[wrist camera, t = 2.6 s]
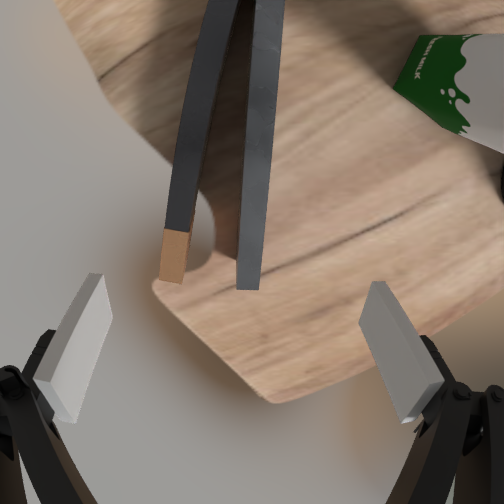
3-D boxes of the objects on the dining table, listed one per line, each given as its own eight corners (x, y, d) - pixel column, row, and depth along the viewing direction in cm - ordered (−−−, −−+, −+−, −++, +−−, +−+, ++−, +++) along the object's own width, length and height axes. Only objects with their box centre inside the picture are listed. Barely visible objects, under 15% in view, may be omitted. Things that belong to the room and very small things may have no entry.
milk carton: (415, 23, 21) (587, 13, 4) (475, 76, 23) (631, 120, 6) (380, 91, 25) (557, 138, 8) (444, 140, 27) (596, 225, 10)
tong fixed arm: (233, -60, 17) (233, -84, 13) (284, -56, 17) (293, -79, 13) (214, 259, 33) (212, 288, 29) (257, 261, 33) (260, 290, 29)
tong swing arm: (222, -21, 19) (219, -39, 15) (246, -16, 20) (249, -35, 15) (168, 253, 32) (159, 280, 28) (188, 256, 32) (181, 284, 28)
